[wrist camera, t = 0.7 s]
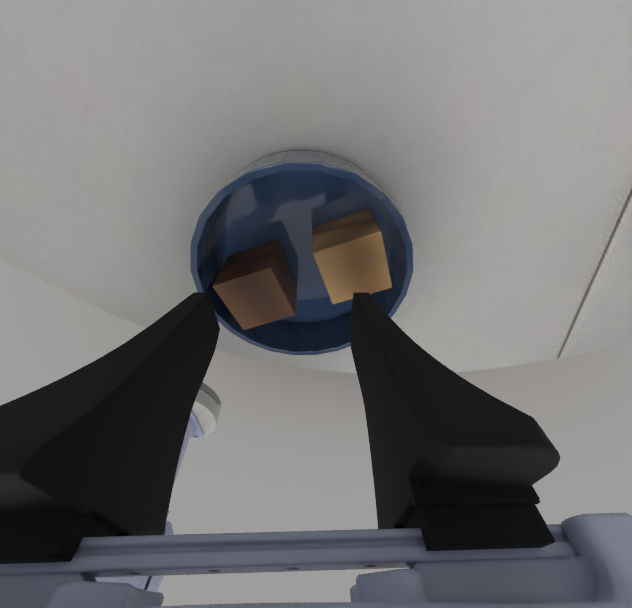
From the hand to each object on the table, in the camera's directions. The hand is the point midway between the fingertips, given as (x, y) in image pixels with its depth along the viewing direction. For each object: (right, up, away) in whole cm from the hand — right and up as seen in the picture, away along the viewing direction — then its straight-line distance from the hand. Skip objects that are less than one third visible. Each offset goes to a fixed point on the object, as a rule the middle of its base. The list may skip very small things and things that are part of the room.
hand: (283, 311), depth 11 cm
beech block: (+4, +5, +8) cm, 10 cm away
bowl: (0, +4, +9) cm, 10 cm away
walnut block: (-3, +3, +9) cm, 10 cm away
